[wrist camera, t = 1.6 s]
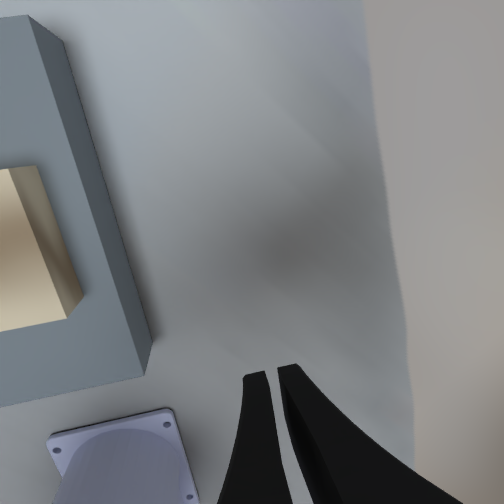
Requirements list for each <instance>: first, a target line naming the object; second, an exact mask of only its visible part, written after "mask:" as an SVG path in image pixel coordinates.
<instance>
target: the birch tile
mask: <svg viewBox="0 0 504 504" xmlns="http://www.w3.org/2000/svg"><path fill="white" fill-rule="evenodd" d="M83 297H84V295H83V293H82V290H81V287H80V284H79V282H78V279H77V276H76V273H75V271H74V268H73V265H72V263H71V260H70V257H69V254H68V252H67V249H66V246H65V243H64V241H63V238H62V235H61V232H60V230H59V227H58V224H57V221H56V219H55V216H54V213H53V210H52V208H51V205H50V202H49V199H48V197H47V194H46V191H45V188H44V186H43V183H42V180H41V177H40V175H39V172H38V169H37V166H36V165H33V166H25V167H17V168H8V169H2V170H0V332H2V331H7V330H12V329H17V328H22V327H27V326H32V325H37V324H42V323H47V322H52V321H57V320H62V319H67V318H68V316H69V315H70V314H71V313H72V311H73V310H74V309H75V308H76V306H77V305H78V304H79V302H80V301H81V300H82V299H83Z"/></svg>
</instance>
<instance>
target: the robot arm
mask: <svg viewBox="0 0 504 504" xmlns="http://www.w3.org/2000/svg"><path fill="white" fill-rule="evenodd" d="M277 369H278V376H279V383H280V389H281V396H282V403H283V409H284V416H285V420H286V424H287V428H288V431H289V435H290V439H291V442H292V446H293V450H294V452H295V455H296V458H297V461H298V463H299V466H300V469H301V471H302V474H303V477H304V479H305V482H306V485H307V487H308V490H309V493H310V495H311V498H312V501H313V503H314V504H463V503H461V502H460V501H458V500H457V499H455V498H454V497H452V496H451V495H449V494H448V493H446V492H444V491H443V490H442V489H440V488H438V487H437V486H435V485H434V484H432V483H431V482H429V481H427V480H426V479H425V478H423V477H422V476H420V475H418V474H417V473H416V472H415V471H413V470H412V469H410V468H409V467H408V466H406V465H405V464H403V463H402V462H401V461H399V460H398V459H397V458H395V457H394V456H393V455H391V454H390V453H389V452H388V451H386V450H385V449H384V448H382V447H381V446H380V445H379V444H377V443H376V442H375V441H374V440H373V439H371V438H370V437H369V436H368V435H367V434H365V433H364V432H363V431H362V430H361V429H360V428H359V427H357V426H356V425H355V424H354V423H353V422H352V421H351V420H350V419H349V418H347V417H346V416H345V415H344V414H343V413H342V412H341V411H340V410H339V409H338V408H337V407H336V406H335V405H334V404H333V403H332V402H331V401H330V400H329V399H328V398H327V397H326V396H325V395H324V394H323V393H322V392H321V391H320V390H319V388H318V387H317V386H316V385H315V384H314V383H313V382H312V381H311V380H310V378H309V377H308V376H307V375H306V374H305V372H304V371H303V370H302V369H301V367H300V366H299V365H297V364H291V365H287V366H282V367H278V368H277ZM165 422H170V423H165ZM46 446H47V448H48V450H49V452H50V454H51V456H52V458H53V460H54V462H55V464H56V466H57V468H58V470H59V473H60V475H61V477H62V481H61V483H60V486H59V488H58V491H57V493H56V495H55V498H54V500H53V502H52V504H199V497H198V494H197V490H196V487H195V484H194V480H193V477H192V474H191V470H190V467H189V464H188V460H187V457H186V454H185V450H184V447H183V444H182V440H181V437H180V434H179V430H178V427H177V424H176V420H175V417H174V414H173V412H172V411H171V410H170V409H162V410H157V411H153V412H149V413H144V414H140V415H136V416H131V417H127V418H123V419H118V420H114V421H109V422H105V423H101V424H96V425H92V426H88V427H83V428H79V429H75V430H70V431H66V432H61V433H57V434H53V435H51V436H50V437H49V438H48V440H47V442H46ZM57 447H58V448H57ZM217 504H293V502H292V499H291V495H290V491H289V488H288V484H287V480H286V476H285V473H284V469H283V465H282V460H281V453H280V447H279V441H278V435H277V429H276V423H275V417H274V411H273V405H272V399H271V392H270V386H269V383H268V380H267V377H266V374H265V371H260V372H256V373H251V374H247V375H245V376H244V377H243V397H242V406H241V413H240V419H239V424H238V430H237V435H236V439H235V443H234V447H233V451H232V455H231V459H230V463H229V467H228V470H227V474H226V477H225V481H224V484H223V487H222V490H221V493H220V496H219V499H218V502H217Z"/></svg>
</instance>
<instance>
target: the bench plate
mask: <svg viewBox="0 0 504 504" xmlns="http://www.w3.org/2000/svg"><path fill="white" fill-rule="evenodd" d="M33 165H36V166H37V169H38V172H39V175H40V177H41V180H42V183H43V186H44V188H45V191H46V194H47V197H48V199H49V202H50V205H51V208H52V210H53V213H54V216H55V219H56V221H57V224H58V227H59V230H60V232H61V235H62V238H63V241H64V243H65V246H66V249H67V252H68V254H69V257H70V260H71V263H72V265H73V268H74V271H75V273H76V276H77V279H78V282H79V284H80V287H81V290H82V293H83V295H84V297H83V299H82V300H81V301H80V302H79V304H78V305H77V306H76V308H75V309H74V310H73V311H72V313H71V314H70V315H69V316H68V318H67V319H62V320H57V321H52V322H47V323H42V324H37V325H32V326H27V327H22V328H17V329H12V330H7V331H2V332H0V407H4V406H9V405H13V404H18V403H22V402H27V401H31V400H36V399H41V398H45V397H50V396H54V395H59V394H63V393H68V392H73V391H77V390H82V389H86V388H91V387H95V386H100V385H104V384H109V383H114V382H118V381H123V380H127V379H132V378H136V377H141V376H144V375H145V371H146V367H147V363H148V359H149V355H150V351H151V347H152V343H153V342H152V338H151V335H150V332H149V328H148V325H147V322H146V318H145V315H144V312H143V308H142V305H141V302H140V298H139V295H138V292H137V288H136V285H135V282H134V278H133V275H132V272H131V268H130V265H129V262H128V258H127V255H126V252H125V248H124V245H123V242H122V238H121V235H120V232H119V228H118V225H117V222H116V218H115V215H114V212H113V208H112V205H111V202H110V198H109V195H108V192H107V188H106V185H105V182H104V178H103V175H102V172H101V168H100V165H99V162H98V158H97V155H96V152H95V148H94V145H93V142H92V138H91V135H90V132H89V128H88V125H87V122H86V118H85V115H84V112H83V108H82V105H81V102H80V98H79V95H78V92H77V88H76V85H75V82H74V78H73V75H72V72H71V68H70V65H69V62H68V58H67V55H66V52H65V48H64V45H63V42H62V40H61V39H59V38H58V37H57V36H55V35H54V34H53V33H51V32H50V31H49V30H47V29H46V28H45V27H43V26H42V25H41V24H39V23H38V22H37V21H35V20H34V19H33V18H31V17H30V16H28V15H21V16H13V17H4V18H0V170H2V169H8V168H17V167H25V166H33Z"/></svg>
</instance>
